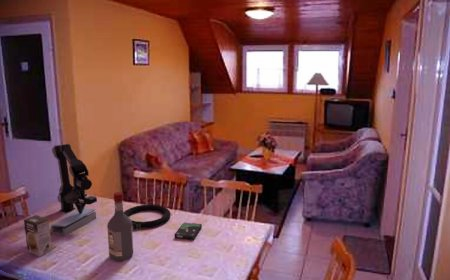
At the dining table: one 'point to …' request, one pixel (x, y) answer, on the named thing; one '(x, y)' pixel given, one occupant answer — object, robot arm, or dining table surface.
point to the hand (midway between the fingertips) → (80, 213)
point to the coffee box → (37, 235)
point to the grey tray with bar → (73, 225)
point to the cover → (72, 218)
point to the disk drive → (188, 231)
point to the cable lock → (148, 223)
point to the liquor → (120, 232)
